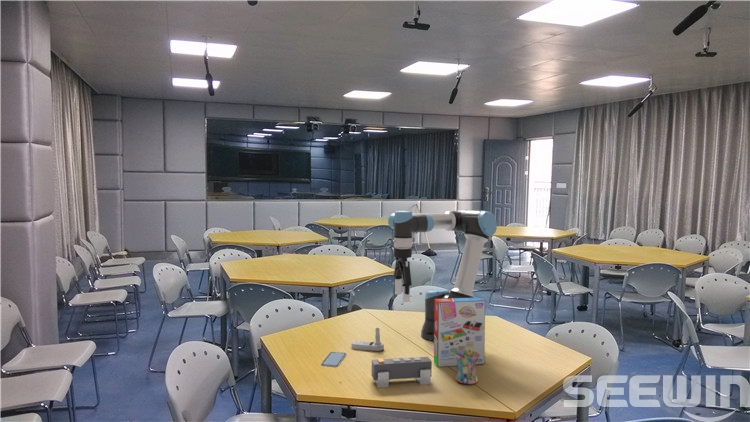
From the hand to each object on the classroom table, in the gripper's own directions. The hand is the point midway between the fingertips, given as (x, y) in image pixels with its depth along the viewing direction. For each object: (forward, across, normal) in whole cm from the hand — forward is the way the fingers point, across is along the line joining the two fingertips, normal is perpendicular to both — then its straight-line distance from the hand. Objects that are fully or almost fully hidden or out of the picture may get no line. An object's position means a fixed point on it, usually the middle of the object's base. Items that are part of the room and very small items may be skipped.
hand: (402, 297), depth 201 cm
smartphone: (+27, -4, -28) cm, 39 cm away
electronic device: (+27, -16, -12) cm, 34 cm away
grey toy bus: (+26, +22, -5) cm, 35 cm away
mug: (+27, +27, +19) cm, 42 cm away
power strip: (+24, +22, -6) cm, 33 cm away
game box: (+27, +8, +23) cm, 36 cm away
